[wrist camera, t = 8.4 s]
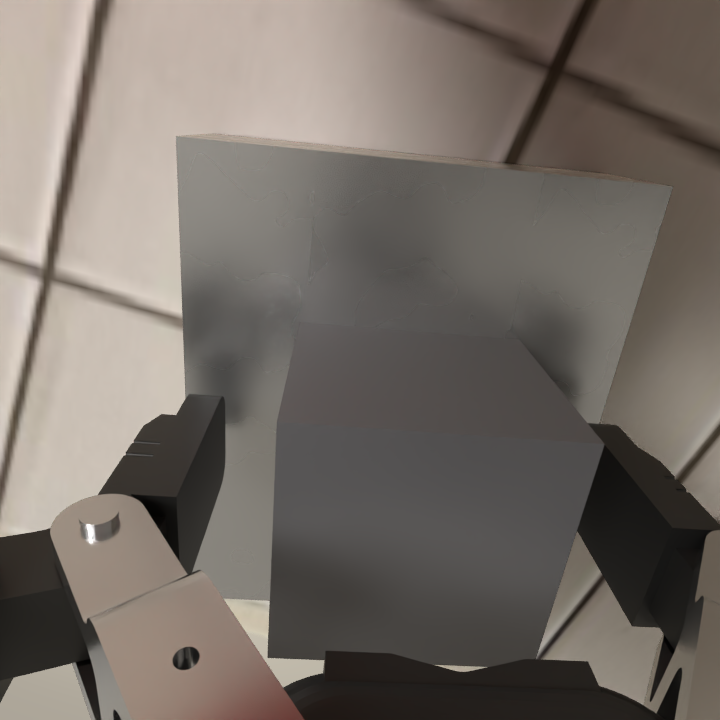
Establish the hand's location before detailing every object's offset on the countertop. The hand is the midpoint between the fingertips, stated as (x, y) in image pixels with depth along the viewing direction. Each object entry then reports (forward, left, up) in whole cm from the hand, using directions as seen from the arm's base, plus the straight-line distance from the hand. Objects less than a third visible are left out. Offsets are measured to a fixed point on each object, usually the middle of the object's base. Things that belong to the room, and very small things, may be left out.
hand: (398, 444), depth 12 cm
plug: (0, 0, -4) cm, 4 cm away
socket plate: (0, 0, -4) cm, 4 cm away
